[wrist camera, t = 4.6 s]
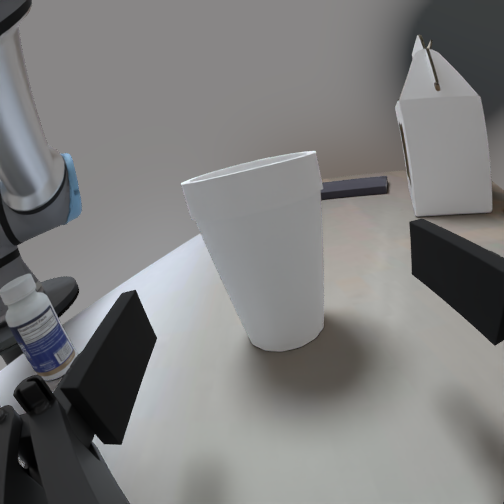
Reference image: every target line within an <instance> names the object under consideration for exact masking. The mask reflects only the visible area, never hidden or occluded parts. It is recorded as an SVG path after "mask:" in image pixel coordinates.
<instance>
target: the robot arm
mask: <svg viewBox="0 0 504 504" xmlns="http://www.w3.org/2000/svg"><path fill="white" fill-rule="evenodd" d="M31 7H32V0H0V179H1V181H0V289H1V288H2V287H3V286H5V285H6V284H7V283H9V282H11V281H12V280H14V279H16V278H18V277H20V276H23V275H25V274H31V275H32V277H33V280H34V282H35V283H36V289H35V290H36V292H41V293H44V294H46V292H45V290H44V288H43V286H42V283H41V282H40V281H38V279H37V278H36V277H35V275H34V274H33V273H32V272H31V270H30V269H29V268H28V267H27V265H26V264H25V263H24V262H23V260H22V258H21V256H20V253H19V250H18V248H17V245H18V244H21V243H23V242H24V241H27V240H28V239H31V238H33V237H35V236H37V235H39V234H42V233H44V232H46V231H49V230H51V229H53V228H55V227H58V226H60V225H65V224H67V223H68V222H69V221H71V220H73V219H75V218H77V217H78V216H79V215H80V213H81V211H82V205H81V197H80V192H79V190H78V189H79V188H78V181H77V177H76V172H75V168H74V164H73V160H72V157H71V155H70V154H68V153H65V154H60V153H59V152H58V151H57V150H56V149H55V148H53V147H51V146H49V145H48V144H47V141H46V138H45V135H44V132H43V129H42V126H41V123H40V119H39V116H38V113H37V109H36V106H35V103H34V98H33V95H32V91H31V87H30V83H29V79H28V75H27V70H26V65H25V61H24V56H23V51H22V45H21V39H20V33H19V25H20V24H21V22H22V21H23V19H24V18H25V17H26V16H27V14H28V13H29V11H30V9H31ZM409 223H410V237H411V259H412V275H414V276H415V277H416V278H417V279H419V280H420V281H421V282H422V283H424V284H425V285H426V286H427V287H429V288H430V289H431V290H432V291H433V292H435V293H436V294H437V295H438V296H439V297H441V298H442V299H443V300H444V301H445V302H447V303H448V304H449V305H450V306H451V307H452V308H454V309H455V310H456V311H457V312H458V313H459V314H460V315H462V316H463V317H464V318H465V319H466V320H467V321H468V322H470V323H471V324H472V325H473V326H474V327H475V328H476V329H477V330H478V331H480V332H481V333H482V334H483V335H484V336H485V337H486V338H487V339H488V340H489V341H490V342H491V343H492V344H494V345H497V344H498V343H500V342H502V341H503V340H504V258H503V257H500V255H498V254H496V253H494V252H492V251H488V250H486V249H484V248H482V247H481V246H479V245H477V244H475V243H473V242H471V241H469V240H467V239H465V238H463V237H461V236H458V235H456V234H454V233H452V232H450V231H448V230H446V229H444V228H442V227H439V226H437V225H435V224H433V223H431V222H429V221H426V220H424V219H418V220H415V221H411V222H409ZM7 310H8V306H7V305H5V304H4V302H3V300H2V298H1V296H0V329H1V328H3V327H5V326H7V325H8V324H7V322H6V318H5V316H6V312H7ZM156 340H157V337H156V335H155V333H154V331H153V329H152V326H151V324H150V322H149V320H148V317H147V315H146V313H145V311H144V308H143V306H142V304H141V301H140V299H139V297H138V294H137V292H136V290H133V291H129V292H125V293H122V294H121V295H120V296H119V298H118V299H117V301H116V302H115V304H114V305H113V306H112V308H111V309H110V311H109V312H108V314H107V315H106V317H105V318H104V319H103V321H102V322H101V324H100V325H99V327H98V328H97V330H96V331H95V333H94V334H93V336H92V337H91V339H90V340H89V342H88V343H87V345H86V347H85V348H84V350H83V351H82V352H81V353H80V354H79V355H78V356H77V357H76V358H75V359H74V360H73V362H72V364H71V365H70V368H68V370H67V371H66V375H64V376H63V378H62V379H61V381H60V383H59V384H58V386H57V388H56V389H55V391H54V393H52V391H51V390H50V388H49V387H48V386H47V384H46V383H45V381H44V380H43V378H42V377H41V376H39V375H34V376H31V377H28V378H26V379H25V380H23V381H22V382H21V383H20V384H19V385H18V386H17V387H16V389H15V391H14V394H13V396H14V397H15V399H16V400H17V401H18V403H19V404H20V405H21V407H22V408H23V409H24V410H25V412H26V414H22V415H18V414H17V412H16V411H15V410H14V408H13V407H12V406H9V405H7V406H3V407H1V408H0V504H130V503H129V501H128V500H127V498H126V497H125V495H124V494H123V492H122V490H121V489H120V487H119V486H118V484H117V482H116V481H115V479H114V477H113V476H112V474H111V472H110V470H109V469H108V467H107V465H106V463H105V461H104V459H103V458H102V456H101V454H100V452H99V450H98V448H97V447H96V446H95V444H94V443H93V442H92V440H93V437H94V435H95V434H96V436H97V437H98V438H99V439H100V440H101V441H102V442H103V444H118V445H122V441H123V438H124V435H125V432H126V428H127V425H128V422H129V419H130V416H131V413H132V409H133V406H134V403H135V400H136V397H137V394H138V391H139V388H140V385H141V382H142V379H143V376H144V373H145V371H146V368H147V365H148V362H149V359H150V356H151V354H152V351H153V348H154V345H155V343H156ZM18 457H19V458H20V459H21V460H22V461H23V462H24V463H25V467H24V468H23V467H22V466H21V465H20V464H19V462H18ZM503 504H504V502H503Z"/></svg>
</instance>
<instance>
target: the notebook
mask: <svg viewBox="0 0 504 504" xmlns="http://www.w3.org/2000/svg"><path fill="white" fill-rule="evenodd" d="M322 184H323V189H322V190H320V191H321V199H331V198H340V197H350V196H361V195H372V194H383V193H387V185H388V181H387V176H380V177H370V178H360V179H351V180H342V181H333V182H325V183H322Z"/></svg>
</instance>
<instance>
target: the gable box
mask: <svg viewBox="0 0 504 504" xmlns="http://www.w3.org/2000/svg"><path fill="white" fill-rule="evenodd" d="M431 46H432V40H431V41H430V43H429V45H428V47H427V48H426V47H425V44H424V42H423V39H422V36H421V35H417V39H416V42H415V46H414V49H413V53H412V57H413V60H412V64H411V66H410V69H409V73H408V75H407V78H406V81H405V84H404V87H403V90H402V93H401V95H400V98H399V100H398V101H397V104H396V107H395V110H396V115H397V119H398V124H399V129H400V135H401V140H402V146H403V151H404V157H405V165H406V172H407V180H408V187H409V191H410V196H411V200H412V204H413V209H414V213H415V216H416V217H422V216H438V215H455V214H474V213H491V212H492V181H491V166H490V155H489V146H488V138H487V132H486V124H485V118H484V113H483V108H482V102H481V98H480V95H478V94H477V93H476V92H475V91H474V90H473V89H472V87H471V86H470V85H469V84H468V83H467V82H466V81H465V80H464V78H463V77H462V76H461V75H460V74H459V73H458V72H457V71H456V70H455V69H454V68H453V67H452V66H451V65H450V64H449V63H448V62H447V61H446V60H445V59H444V58H443V57H442V56H441V55H440V54H439V53H438V52H436V51H434V50H431ZM438 83H439V84H438Z"/></svg>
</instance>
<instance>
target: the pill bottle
mask: <svg viewBox="0 0 504 504" xmlns="http://www.w3.org/2000/svg"><path fill="white" fill-rule="evenodd" d="M35 289H36V283H35V282H34V280H33V277H32V275H31V274H25V275H23V276H20V277H18V278H16V279H14V280H12V281H11V282H9V283H7V284H6V285H5V286H3V287H2V288H1V289H0V296H1V298H2V300H3V302H4V304H5V305H7V306H8V310H7V312H6V316H5V318H6V322H7V324H8V326H9V328H10V330H11V332H12V334H13V336H14V337H15V339H16V341H17V343H18V344H19V346H20V348H21V349H22V351H23V353H24V354H25V356H26V358H27V359H28V361H29V362H30V364H31V365H32V367H33V369H34V370H35V372H36V373H37V374H38V375H39V376H41V377H42V378H43V380H54V379H57V378H59V377H61V376H63V375H64V374H66V371H67V370H68V368H70V365H71V364H72V362H73V360H74V359H75V358H76V357H77V352H76V350H75V348H74V346H73V345H72V343H71V341H70V339H69V337H68V335H67V334H66V332H65V330H64V328H63V326H62V324H61V322H60V320H59V318H58V316H57V314H56V312H55V310H54V308H53V306H52V304H51V302H50V300H49V298H48V296H47V295H46V294H44V293H41V292H36V290H35Z"/></svg>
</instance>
